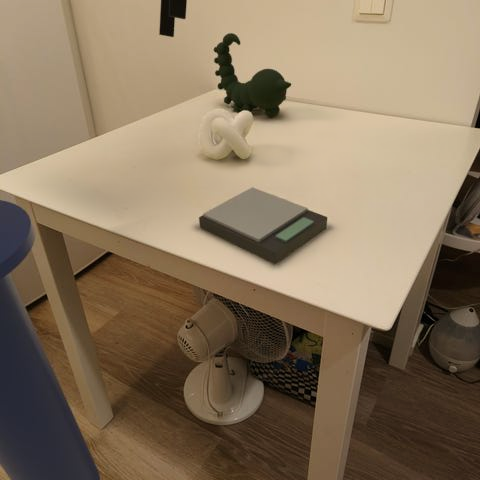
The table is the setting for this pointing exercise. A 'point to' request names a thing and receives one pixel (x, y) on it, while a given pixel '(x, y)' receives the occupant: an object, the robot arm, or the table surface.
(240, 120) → the white knot sculpture
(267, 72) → the toy figurine
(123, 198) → the table surface
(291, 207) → the scale
